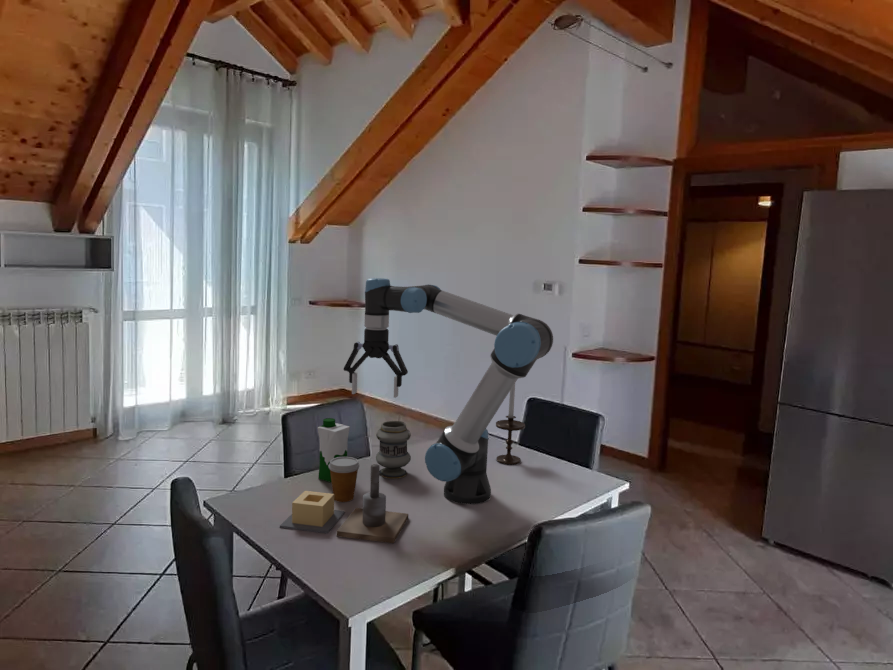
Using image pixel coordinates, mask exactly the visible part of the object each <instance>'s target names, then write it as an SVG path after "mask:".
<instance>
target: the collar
mask: <svg viewBox="0 0 893 670" xmlns="http://www.w3.org/2000/svg"><path fill="white" fill-rule="evenodd" d="M291 504H292V505H291V514H292V523H296V524H305V525H313V526H321V527H323V526H324V524H325V523H326V522H327V521H328V520H329V519H330V518H331V516H332V515H333V514H334V510H335V500H334V494H333V493H328V492H319V491H310V490H304V491H303V492H302V493H301V494H299V496H298V497H297V498H295V500H293V501H292V502H291Z"/></svg>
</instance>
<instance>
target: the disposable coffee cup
mask: <svg viewBox="0 0 893 670" xmlns="http://www.w3.org/2000/svg"><path fill="white" fill-rule="evenodd" d="M359 468H360V463H359V460H358V459H357V458H355V457H352V456H347V457H337V458H334V459H332V460H331V461H330V464H329V469H330V473H331V482H332V483H331V482H330V483H331V488H332V489H331V490H332V494H334V502H337V503H338V502H339V503H347V502H352V501H353V500H354V498H355V493H356V485H357V484H356V483H357V478H358V470H359Z"/></svg>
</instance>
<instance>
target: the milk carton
mask: <svg viewBox="0 0 893 670" xmlns="http://www.w3.org/2000/svg"><path fill="white" fill-rule="evenodd" d="M350 428H351V427H350V426H349V425H345V424H343V423H342V424H341V423H337V422H336V419H335V418H332V417H329V418H328V417H327V418H324V419H323V420H322V425H320V426H318V427H317V432H318V433H317V434H318V439H319V465H318V480H321V481H325V482H328V483H330V484H332V482H331V473H330V469H329V464H330V461H331V460H332V459H334V458H337V457H348V439H349V433H350V431H351V429H350Z"/></svg>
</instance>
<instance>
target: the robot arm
mask: <svg viewBox="0 0 893 670" xmlns="http://www.w3.org/2000/svg"><path fill="white" fill-rule="evenodd" d="M364 289H365V290H364V328H365V329H364V332H363V333H364V334H363V335H364V337H363V341H364V342H363V343H362V342H360V341H356V342H354V343H353V348H352V349H353V350H352V351H351V352H350V355H349V357H348V359H347V361H346V363H345V365H344V367H343V371H344V372H347V373H348V374H349V376H348V377H349V378H348V382H349V384H351V395H355V394H357V392H358V371H356V370H357V369H359V367H360V366H361V365H362V364H363V363H364V362H365V360H366V359H367V358H368V357H369V358H371V359H375V358H376V359H382V360H383V361H385V363H387V365H388V366H389V367H390V369H391V370H392V371H393V373H394V375H395V376H393V377H394V378H393V398H395V399H396V398H397V397H398V396H399V388H400V387H401V386H402V381H403V376H406V375H407V374H408V372H409V371H408V369H407V366H406V364H405V362H404V359H403V358H402V355H401V353H400V348H399V344H398V343H397V344H389V333H390V332H389V329H388V328H389V327H390V325H389V324H390V311H395V312H401V313H403V312H405V313H409V314H413V313H416V314H419V313H421V312H423V310H425V311H429V312H431V313H434V314H437V315H440V316H442V317H445V318H448V319H451V320H452V321H456V322H458V323H461V324H464V325H467V326H469V327H472V328H474V329H476V330H477V329H478V330H480V331H483V332H485V333H488V334H490V335H493V336H495V340H494V344H493V345H494V348H493V349H492V352H491V353H490V355H489V357H490V359H491V363H490V365H489V367H488V368H487V370H486V372H485V373H484V374H483V376H482V377H481V380H480V381H479V383H478V385H477V386H476V387H475V389H474V391H473V393H471V395H470V397H469V398H468V400H467V402H466V404H465V405H464V407H463V409H462V410H461V412H460V414H459V415H458V416H457V418H456V421H455V422H454V423H453V425H448V426H446V427H445V428H444V430H443V431H442V433H441V435H440V436H439V438H438V439H437V441H436V442H435V443H433V444H432V445H430V446H429V447H428V449H426V451H425V455H424V463H425V465H426V469H427V470H428V473H429V474H430V475H431V476H432V477H433V478H435V479H436V480H438V481H441V482H445V484H444V486H443V496H444V498H446V499H447V500H448V501H450V502H452V503H456V504H461V505H462V504H463V505H478V504H483V503H486V502H488V501H489V500H490V499H491V497H492V488H491V485H490V481H489V478H488V474H487V470H488V469H487V465H488V452H489V451H488V450H489V449H488V447H489V440H490V438H489V431H488V429H487V427H488V426H489V424H490V423H491V422H492V420H493V418H494V417H495V416H496V414H497V412H498V410H499V409H500V407H501V405H502V404H503V402H504V401H505V399H506V398H507V396H508V395H509V394H510V390H511V389H512V387H513V385H514V384H515V385H516V382H517V380H518V379H523V378H527V375H528V373H529V372H530V371H531V369H532V368H533V366H534V365H535V363H536V362H537V361H538V360H539V359H541V358H542V359H543V357H545V356H547V354H549V352H551V349H552V347H553V345H554V334H553V331H552V329H551V328H550V326H549V325H548V324H547V323H546V322H544V321H543V320H541V319H539V318H538V319H537V318H534V317H531V316H528V315H525V314H521V313H516V314H511V313H508V312H505V311H503V310H499V309H498V308H497V309H496V308H493V307H490V306H489V305H488V306H487V305H486V304H483V303H479V302H476V301H474V300H470V299H468V298H464V297H462V296H459V295H456V294H453V293H450V292H448V291H445V290H443V289H441V288H440V287H439V286H438V285H434V284H423V285H414V286H413V285H412V286H399V285H398V286H395V285H394V286H393V285H391V280H390V279H388V278H383V277H378V278H377V277H371V278H370V277H369V278H367V279H366V281H365V288H364ZM361 349H363V350H364V353H363V354H362V355H361V357H360V358H359V359H358V360H357V361H356V362H355V363H354V361H355V359H356V357H357V355H358V353H359V352H360V350H361ZM389 350H390V351H391V353H393V356H394V358H395V360H396V361H395V362H396V363H395V362H394V360H393V359H392V357H391V355H390V354H389V353H388V352H389ZM353 363H354V364H353ZM352 364H353V365H352Z"/></svg>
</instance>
